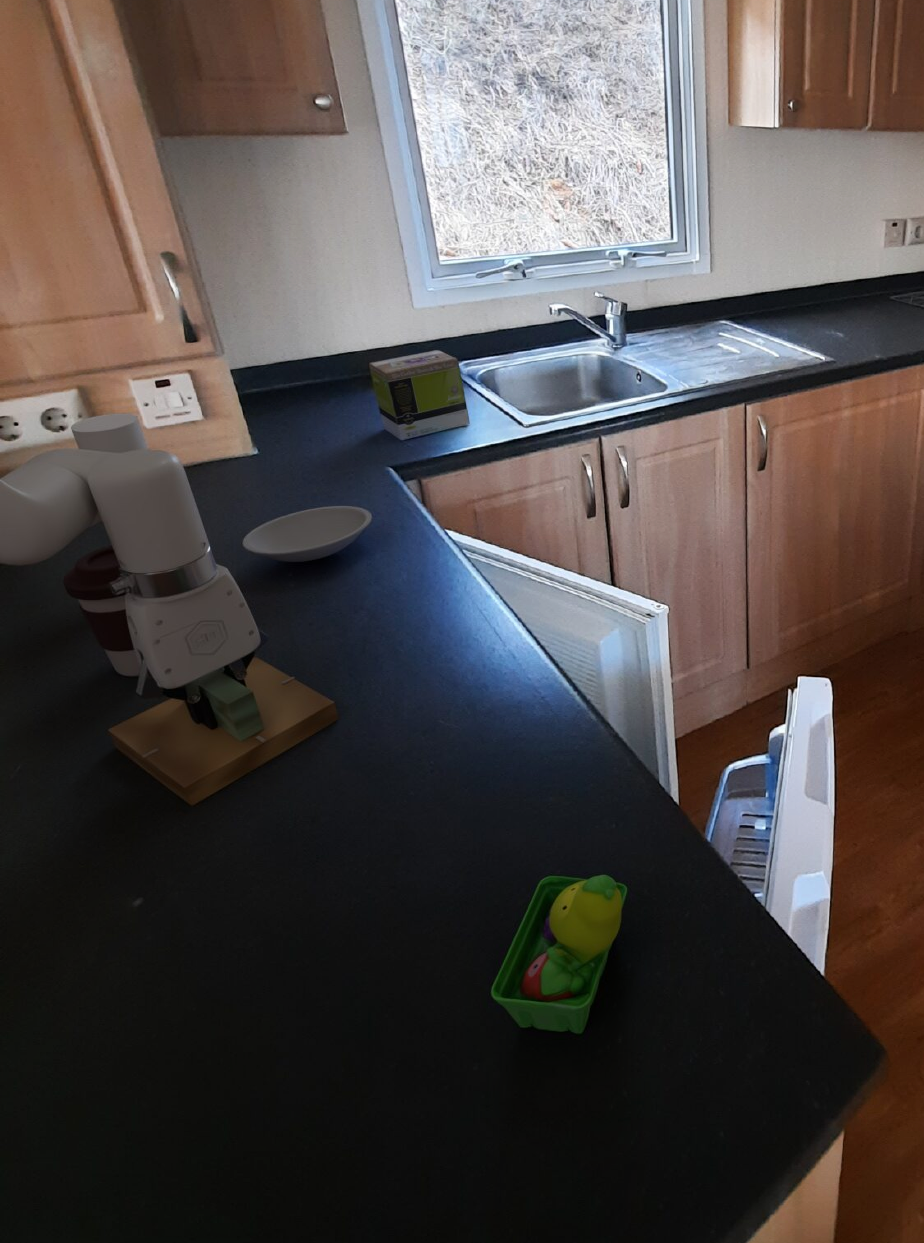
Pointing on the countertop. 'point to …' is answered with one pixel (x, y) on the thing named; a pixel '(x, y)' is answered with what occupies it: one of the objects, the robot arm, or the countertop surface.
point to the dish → (308, 533)
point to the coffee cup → (104, 607)
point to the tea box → (419, 394)
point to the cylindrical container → (110, 433)
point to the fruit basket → (560, 952)
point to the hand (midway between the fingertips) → (223, 714)
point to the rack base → (222, 735)
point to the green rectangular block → (231, 705)
